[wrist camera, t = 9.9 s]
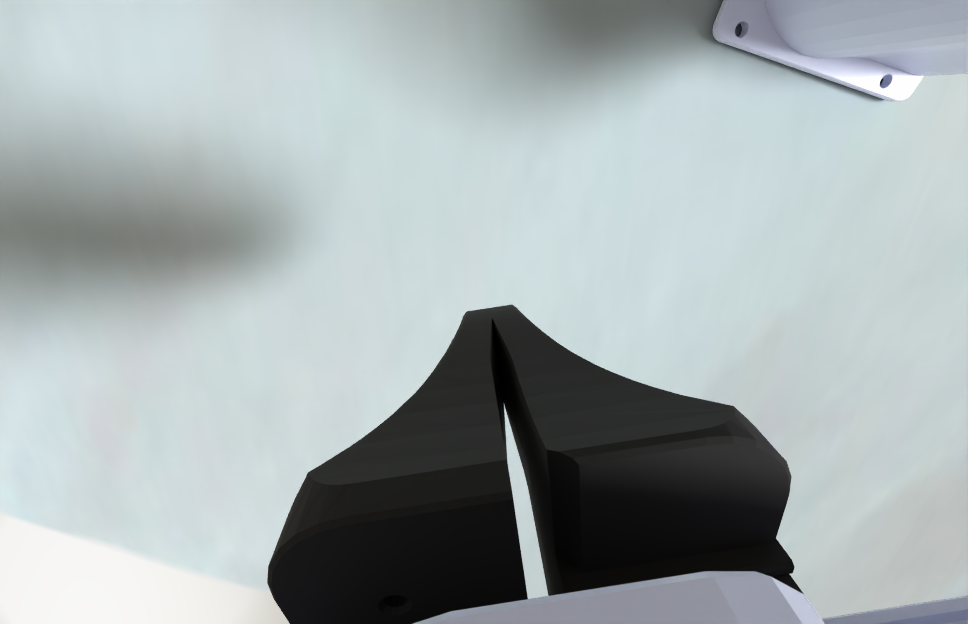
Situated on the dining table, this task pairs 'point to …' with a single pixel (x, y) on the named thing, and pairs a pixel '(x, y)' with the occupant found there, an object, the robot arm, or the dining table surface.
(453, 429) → the robot arm
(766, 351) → the dining table surface
